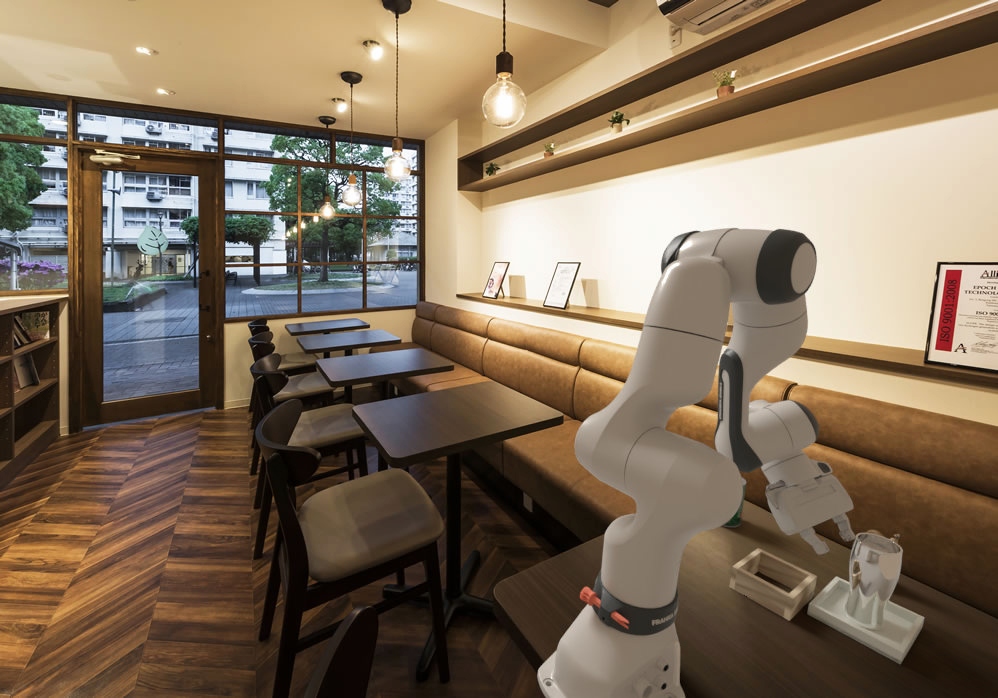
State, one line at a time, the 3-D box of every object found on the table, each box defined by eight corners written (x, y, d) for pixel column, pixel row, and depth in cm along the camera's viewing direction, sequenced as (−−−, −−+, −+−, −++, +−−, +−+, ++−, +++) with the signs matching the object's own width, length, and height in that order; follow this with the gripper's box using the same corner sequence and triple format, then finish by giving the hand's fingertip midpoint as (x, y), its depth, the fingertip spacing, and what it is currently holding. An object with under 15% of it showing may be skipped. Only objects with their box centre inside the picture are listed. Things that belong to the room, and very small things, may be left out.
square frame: (789, 620, 85) (793, 598, 85) (729, 586, 94) (732, 566, 93) (813, 596, 92) (817, 576, 91) (755, 567, 101) (758, 547, 100)
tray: (900, 664, 77) (903, 652, 76) (807, 614, 87) (809, 603, 87) (922, 628, 85) (924, 617, 84) (834, 586, 95) (836, 576, 95)
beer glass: (871, 606, 89) (886, 533, 86) (898, 634, 82) (915, 556, 80) (832, 602, 90) (845, 530, 87) (855, 630, 83) (870, 552, 80)
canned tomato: (736, 513, 123) (742, 473, 121) (744, 530, 115) (750, 487, 113) (703, 509, 124) (708, 469, 122) (709, 524, 117) (715, 483, 115)
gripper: (774, 480, 88) (822, 557, 82) (833, 462, 98) (879, 528, 92) (749, 492, 93) (792, 565, 86) (807, 473, 103) (850, 537, 96)
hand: (837, 546), depth 89 cm, fingers open, 8 cm apart
